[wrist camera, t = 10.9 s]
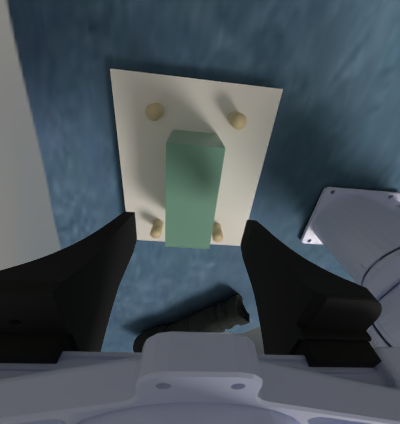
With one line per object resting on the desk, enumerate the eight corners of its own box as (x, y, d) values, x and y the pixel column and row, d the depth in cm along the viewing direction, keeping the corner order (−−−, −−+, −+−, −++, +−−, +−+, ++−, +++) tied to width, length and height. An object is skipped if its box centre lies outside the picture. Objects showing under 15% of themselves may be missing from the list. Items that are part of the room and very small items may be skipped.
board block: (217, 133, 18) (225, 148, 13) (206, 216, 23) (209, 248, 18) (173, 129, 18) (166, 142, 13) (171, 214, 22) (165, 246, 18)
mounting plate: (277, 89, 17) (293, 88, 15) (239, 239, 26) (244, 256, 23) (115, 69, 16) (99, 65, 14) (131, 233, 25) (123, 250, 22)
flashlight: (136, 329, 37) (128, 360, 33) (232, 285, 31) (238, 315, 27) (153, 340, 39) (149, 370, 35) (246, 301, 34) (254, 331, 29)
